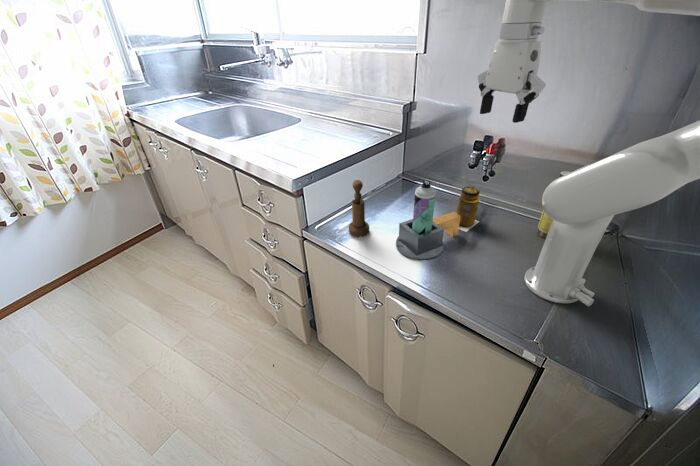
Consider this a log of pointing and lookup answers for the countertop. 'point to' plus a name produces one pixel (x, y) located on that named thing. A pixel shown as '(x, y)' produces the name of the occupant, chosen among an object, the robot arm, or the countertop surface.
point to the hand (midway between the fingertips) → (500, 117)
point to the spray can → (423, 208)
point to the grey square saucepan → (426, 237)
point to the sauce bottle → (547, 218)
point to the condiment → (468, 208)
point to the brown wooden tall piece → (358, 213)
